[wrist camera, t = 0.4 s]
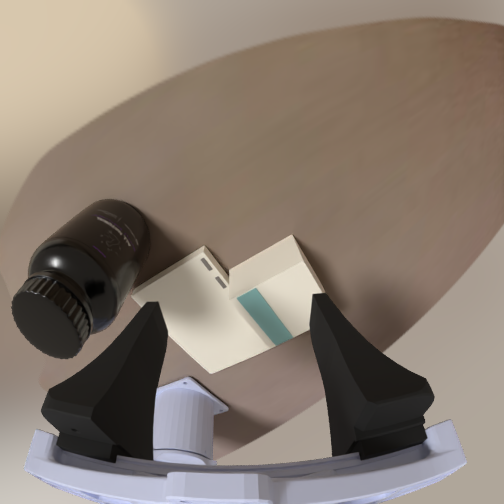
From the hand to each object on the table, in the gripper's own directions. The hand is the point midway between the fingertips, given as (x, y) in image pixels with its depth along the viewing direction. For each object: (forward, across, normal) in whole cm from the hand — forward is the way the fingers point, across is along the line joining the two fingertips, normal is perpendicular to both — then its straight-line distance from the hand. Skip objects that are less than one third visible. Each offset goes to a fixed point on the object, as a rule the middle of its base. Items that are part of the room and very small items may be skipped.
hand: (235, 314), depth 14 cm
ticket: (+10, +4, +10) cm, 14 cm away
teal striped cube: (+11, -3, +6) cm, 13 cm away
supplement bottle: (+11, +10, +1) cm, 15 cm away
